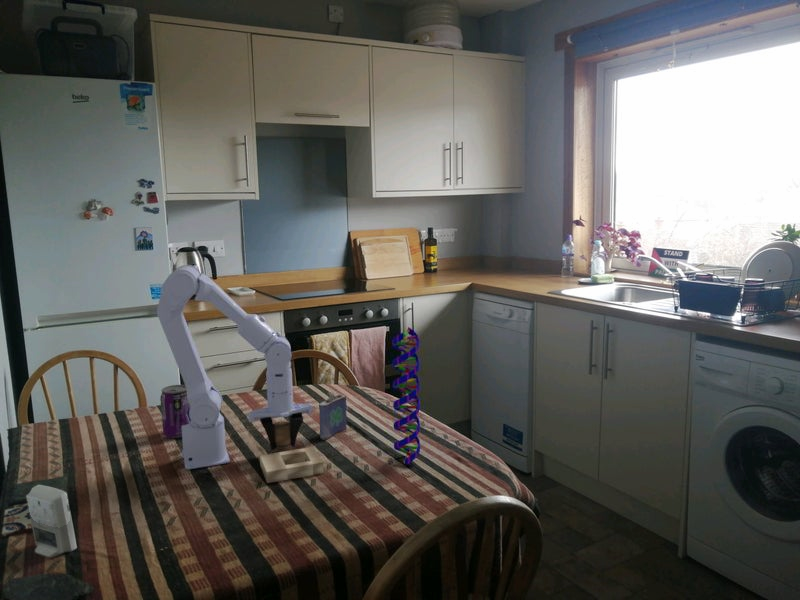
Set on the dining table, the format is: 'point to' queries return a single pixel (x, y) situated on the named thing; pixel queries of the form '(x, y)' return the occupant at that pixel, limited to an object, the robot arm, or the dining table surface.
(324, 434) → the flask
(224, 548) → the dining table surface
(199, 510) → the dining table surface
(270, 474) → the board
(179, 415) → the beverage can
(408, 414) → the dna model
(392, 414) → the dining table surface
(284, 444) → the peg
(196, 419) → the robot arm
